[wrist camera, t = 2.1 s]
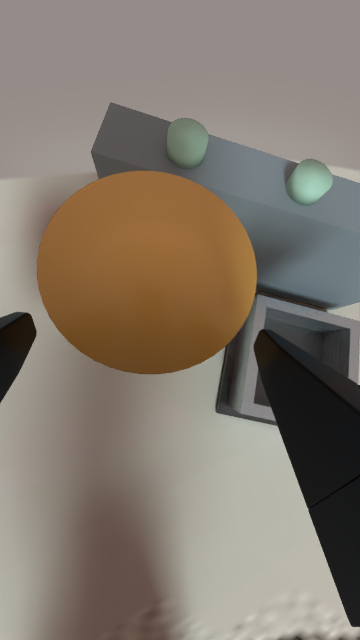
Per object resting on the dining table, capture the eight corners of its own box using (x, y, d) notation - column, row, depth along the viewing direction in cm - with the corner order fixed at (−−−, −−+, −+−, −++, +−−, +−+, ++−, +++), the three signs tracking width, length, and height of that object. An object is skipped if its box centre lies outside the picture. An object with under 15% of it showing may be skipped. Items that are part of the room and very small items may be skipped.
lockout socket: (336, 321, 19) (368, 315, 16) (329, 435, 17) (364, 451, 14) (235, 295, 18) (250, 283, 16) (215, 411, 16) (228, 422, 14)
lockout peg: (194, 342, 17) (295, 300, 5) (142, 375, 16) (110, 424, 4) (163, 292, 18) (186, 144, 6) (110, 322, 17) (-5, 220, 4)
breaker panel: (333, 270, 20) (493, 191, 11) (330, 309, 19) (502, 262, 10) (134, 214, 19) (114, 62, 9) (121, 254, 18) (85, 132, 8)
